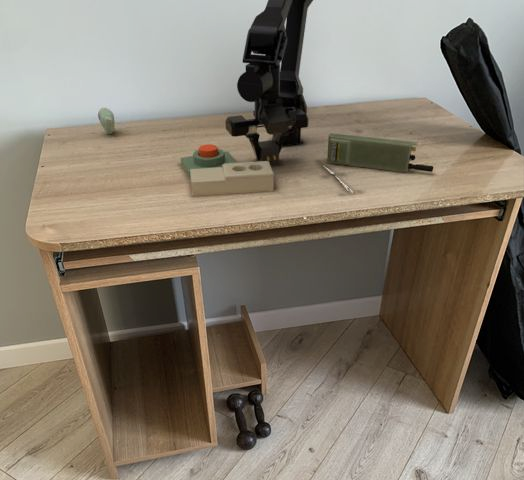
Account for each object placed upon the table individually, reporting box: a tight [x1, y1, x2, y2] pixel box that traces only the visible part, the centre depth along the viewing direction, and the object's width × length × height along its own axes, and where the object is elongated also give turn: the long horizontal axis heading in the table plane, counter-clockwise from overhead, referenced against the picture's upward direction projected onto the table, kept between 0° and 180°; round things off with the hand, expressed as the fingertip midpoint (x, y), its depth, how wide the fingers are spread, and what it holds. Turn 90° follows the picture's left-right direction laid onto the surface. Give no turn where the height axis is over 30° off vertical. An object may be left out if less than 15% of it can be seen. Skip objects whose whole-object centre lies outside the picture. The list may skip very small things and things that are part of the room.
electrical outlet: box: [190, 161, 275, 197], centre depth 113 cm, size 7×4×18 cm
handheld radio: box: [326, 132, 434, 174], centre depth 119 cm, size 7×3×25 cm
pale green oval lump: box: [97, 107, 116, 135], centre depth 138 cm, size 8×4×7 cm, turn 14°
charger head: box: [255, 139, 280, 167], centre depth 122 cm, size 4×6×5 cm
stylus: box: [322, 164, 354, 194], centre depth 117 cm, size 4×1×19 cm
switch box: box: [180, 148, 238, 180], centre depth 121 cm, size 12×9×4 cm
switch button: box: [198, 143, 219, 158], centre depth 119 cm, size 4×4×2 cm
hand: (267, 158), depth 123 cm, fingers closed on charger head, 4 cm apart
